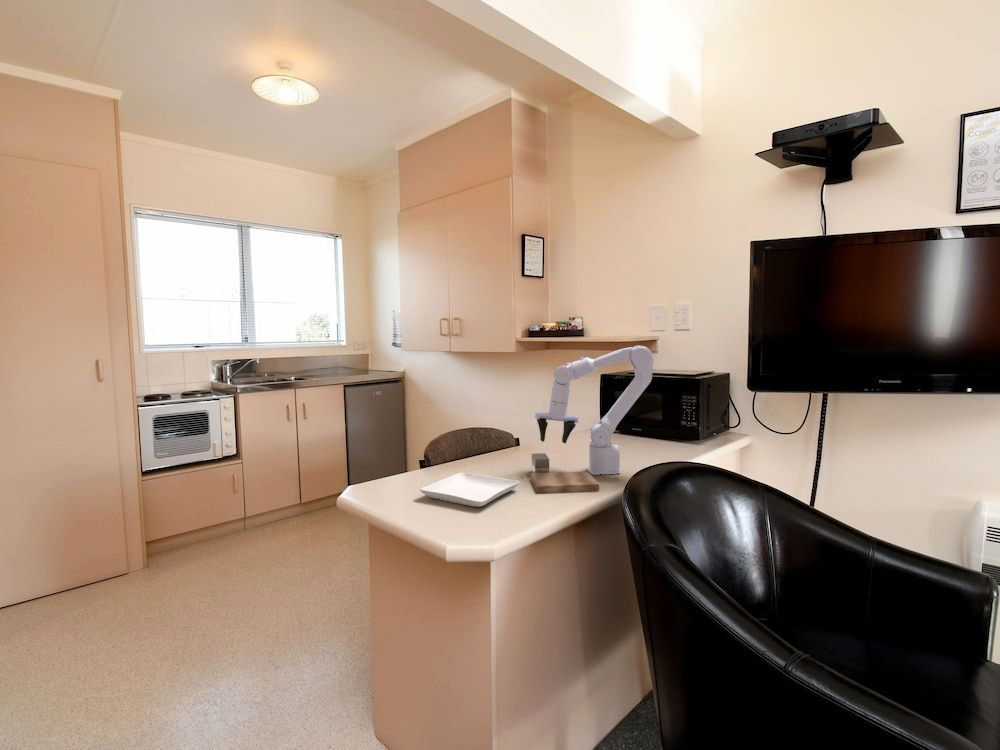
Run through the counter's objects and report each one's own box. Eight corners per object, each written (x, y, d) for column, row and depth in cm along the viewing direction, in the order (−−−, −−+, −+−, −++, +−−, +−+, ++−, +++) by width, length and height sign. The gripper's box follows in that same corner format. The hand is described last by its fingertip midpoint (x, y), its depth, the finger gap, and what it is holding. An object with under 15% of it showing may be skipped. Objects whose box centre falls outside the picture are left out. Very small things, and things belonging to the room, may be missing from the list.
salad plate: (521, 491, 145) (521, 479, 145) (482, 513, 127) (482, 500, 127) (461, 481, 156) (461, 470, 156) (417, 501, 138) (417, 489, 137)
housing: (545, 470, 166) (545, 453, 166) (549, 477, 158) (549, 458, 158) (531, 471, 166) (531, 453, 165) (535, 477, 158) (535, 459, 157)
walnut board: (587, 477, 157) (587, 471, 157) (599, 490, 143) (599, 484, 143) (530, 479, 156) (530, 473, 156) (537, 493, 142) (537, 486, 142)
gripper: (575, 401, 170) (569, 440, 171) (534, 397, 166) (529, 436, 168) (582, 405, 163) (576, 445, 164) (541, 401, 160) (535, 442, 161)
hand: (553, 441), depth 166 cm, fingers open, 7 cm apart
